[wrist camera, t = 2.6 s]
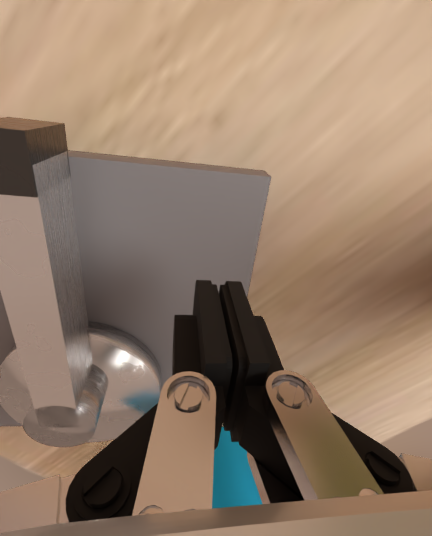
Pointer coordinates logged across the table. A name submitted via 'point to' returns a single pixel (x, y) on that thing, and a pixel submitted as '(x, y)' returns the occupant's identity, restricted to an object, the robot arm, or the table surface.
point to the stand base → (156, 242)
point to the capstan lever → (58, 306)
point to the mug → (232, 475)
